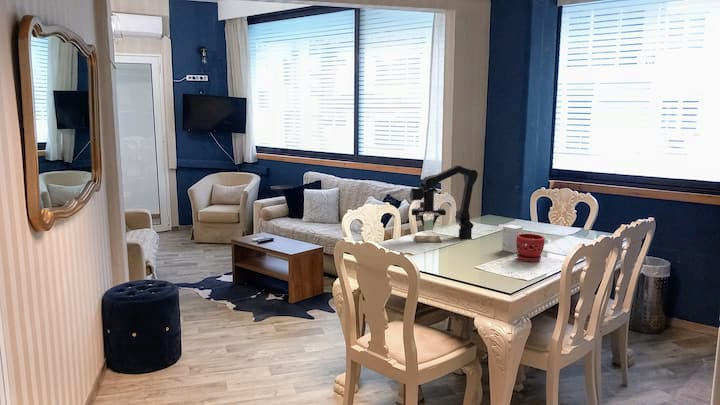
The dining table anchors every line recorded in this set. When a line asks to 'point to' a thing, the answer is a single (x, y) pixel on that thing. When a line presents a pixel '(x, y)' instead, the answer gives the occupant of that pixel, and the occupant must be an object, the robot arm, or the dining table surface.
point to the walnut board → (428, 239)
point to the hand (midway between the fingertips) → (428, 226)
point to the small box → (510, 238)
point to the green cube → (428, 224)
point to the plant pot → (530, 247)
